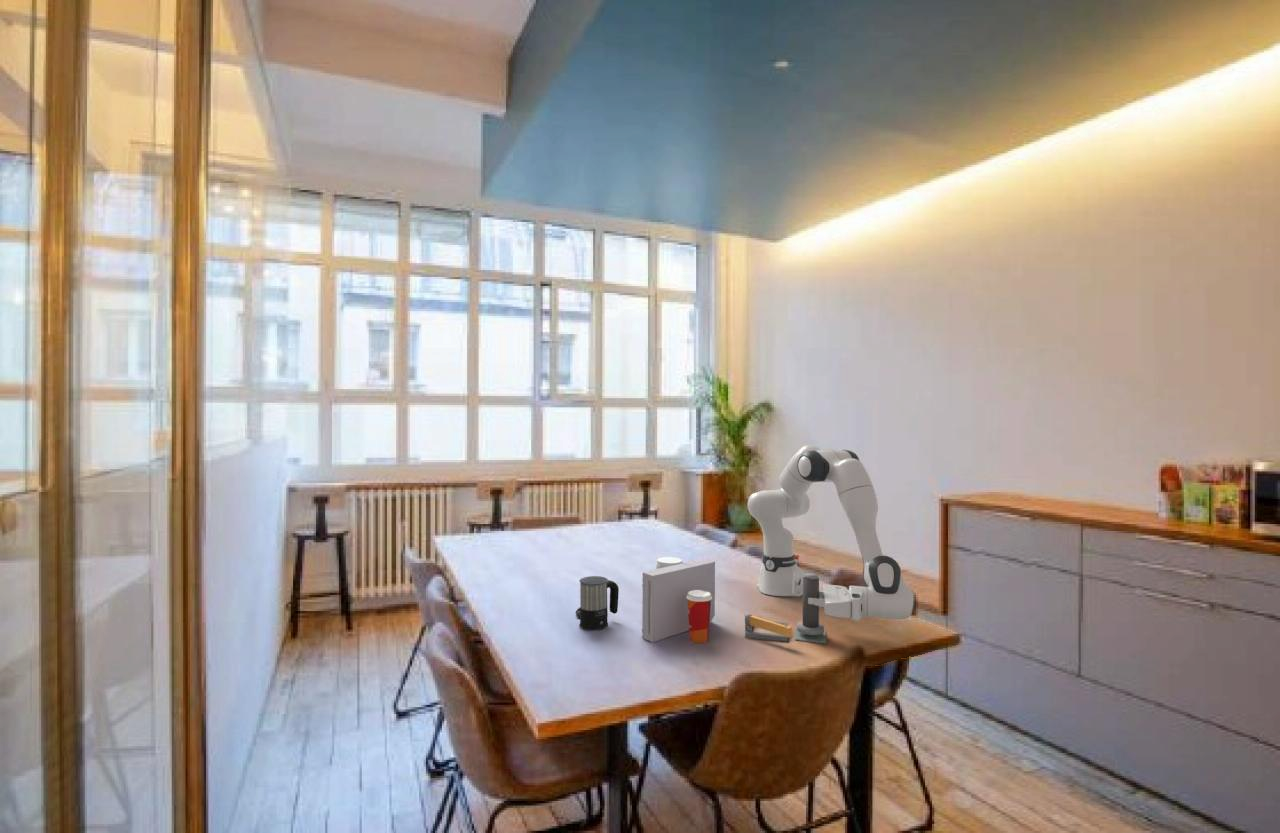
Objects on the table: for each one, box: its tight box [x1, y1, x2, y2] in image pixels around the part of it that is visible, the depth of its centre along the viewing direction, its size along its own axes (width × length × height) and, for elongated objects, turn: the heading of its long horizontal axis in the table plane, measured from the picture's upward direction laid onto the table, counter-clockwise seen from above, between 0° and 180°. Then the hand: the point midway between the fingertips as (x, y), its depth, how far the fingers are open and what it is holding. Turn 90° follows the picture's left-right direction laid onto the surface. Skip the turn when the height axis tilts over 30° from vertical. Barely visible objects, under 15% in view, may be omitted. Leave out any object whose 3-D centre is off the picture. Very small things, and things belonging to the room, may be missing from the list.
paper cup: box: [686, 590, 712, 644], centre depth 180 cm, size 8×8×14 cm
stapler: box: [744, 613, 793, 638], centre depth 180 cm, size 16×2×3 cm, turn 44°
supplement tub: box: [655, 556, 683, 569], centre depth 218 cm, size 10×10×15 cm
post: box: [744, 623, 753, 632], centre depth 185 cm, size 2×2×3 cm
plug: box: [796, 572, 825, 635], centre depth 183 cm, size 8×8×17 cm
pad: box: [794, 628, 827, 644], centre depth 183 cm, size 9×9×1 cm
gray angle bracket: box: [744, 621, 789, 642], centre depth 187 cm, size 12×12×1 cm
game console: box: [641, 558, 716, 643], centre depth 189 cm, size 6×27×20 cm, turn 130°
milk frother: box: [575, 575, 620, 631], centre depth 195 cm, size 14×16×15 cm
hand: (807, 597), depth 183 cm, fingers closed on plug, 5 cm apart
